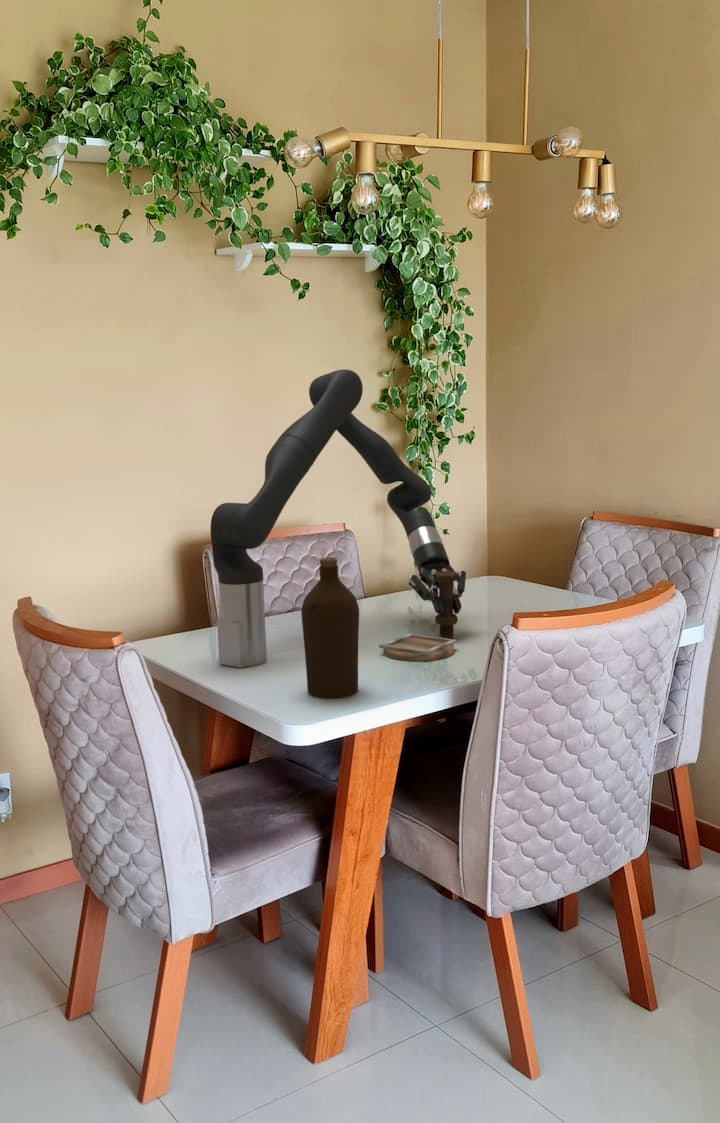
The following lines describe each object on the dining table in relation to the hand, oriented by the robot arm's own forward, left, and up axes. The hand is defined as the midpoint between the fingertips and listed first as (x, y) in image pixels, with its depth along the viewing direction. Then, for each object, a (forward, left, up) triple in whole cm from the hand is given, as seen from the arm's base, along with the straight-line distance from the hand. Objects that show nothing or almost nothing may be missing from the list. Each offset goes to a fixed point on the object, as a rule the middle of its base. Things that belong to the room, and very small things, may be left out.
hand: (449, 612), depth 219 cm
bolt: (+1, +2, -7) cm, 7 cm away
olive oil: (-44, -1, -7) cm, 44 cm away
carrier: (-12, +1, -6) cm, 14 cm away
